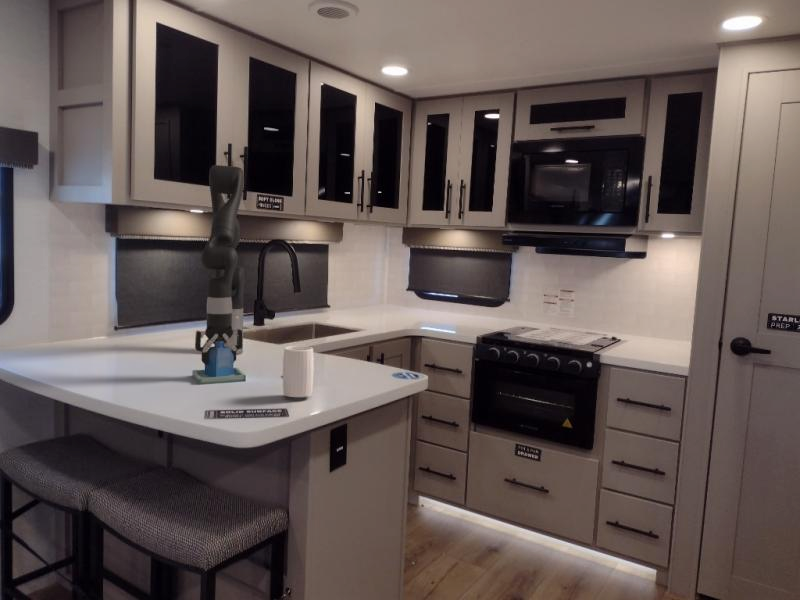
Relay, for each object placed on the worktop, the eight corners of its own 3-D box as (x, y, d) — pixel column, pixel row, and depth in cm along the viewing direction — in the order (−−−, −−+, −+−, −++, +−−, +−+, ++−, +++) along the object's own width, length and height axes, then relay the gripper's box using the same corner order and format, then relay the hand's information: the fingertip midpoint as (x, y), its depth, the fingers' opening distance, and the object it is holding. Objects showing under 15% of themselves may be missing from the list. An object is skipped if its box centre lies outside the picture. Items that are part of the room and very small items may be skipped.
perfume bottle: (221, 371, 192) (222, 334, 190) (233, 374, 188) (233, 337, 186) (204, 374, 187) (204, 336, 186) (216, 377, 183) (216, 339, 182)
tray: (192, 375, 189) (192, 370, 189) (237, 373, 196) (237, 367, 196) (198, 384, 179) (198, 378, 178) (245, 381, 185) (245, 375, 185)
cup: (291, 392, 173) (292, 344, 172) (317, 396, 171) (318, 347, 170) (276, 399, 165) (277, 349, 164) (304, 403, 163) (305, 352, 162)
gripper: (239, 309, 192) (239, 359, 193) (193, 310, 185) (193, 362, 187) (245, 312, 185) (244, 364, 187) (197, 313, 179) (197, 367, 180)
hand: (218, 363), depth 187 cm, fingers closed on perfume bottle, 8 cm apart
